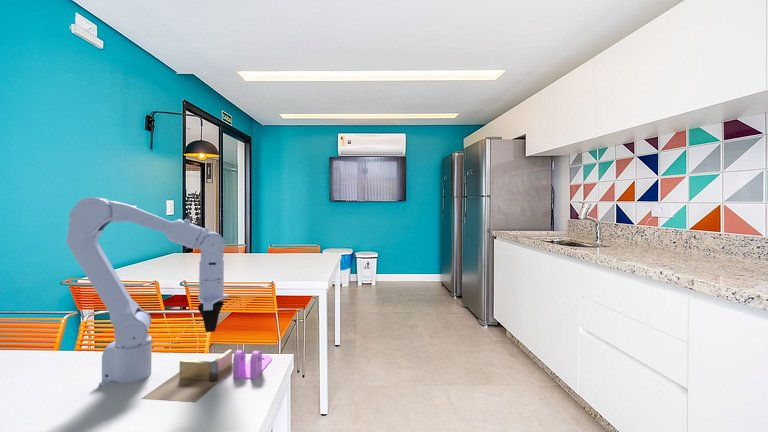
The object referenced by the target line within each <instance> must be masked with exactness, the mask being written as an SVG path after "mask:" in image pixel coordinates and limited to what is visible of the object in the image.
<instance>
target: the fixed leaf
mask: <svg viewBox="0 0 768 432" xmlns="http://www.w3.org/2000/svg"><path fill="white" fill-rule="evenodd" d="M232 363H233V350H232V349H228V350H227V351H225V352H224V353H223V354H222V355H220V356H218V357H217V358H216V359H215V360H212V361H210V380H209V381H210V382H215V381H217V380H218V378H219V377H220V376H221V375H222V374H223V373H224V372H226V371H227V370H228V369H229V368H230V367H231V366H232Z"/></svg>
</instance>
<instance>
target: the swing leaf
mask: <svg viewBox="0 0 768 432" xmlns="http://www.w3.org/2000/svg"><path fill="white" fill-rule="evenodd" d="M210 362H211V361H209V360H208V361H207V360H206V361H205V360H193V359H192V360H191V359H181V360H179V369H178V370H179V372H178V373H179V378H185V379H201V380H208V379H210Z"/></svg>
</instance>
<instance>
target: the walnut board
mask: <svg viewBox="0 0 768 432" xmlns="http://www.w3.org/2000/svg"><path fill="white" fill-rule="evenodd" d="M230 372H233V362H232V366H231V367H230V368H229V369H228V370H227V371H226V372H224V373H223V374H222V375H221V376H220V377H219V378H218V380H217V381H215V382H210V381H209V380H210V379H208V380H201V379H185V378H179V372H177V373H175V374H174V375H173V376H172V377H170V378H169V379H167V380H166V381H164V382H163V383H161V384H160V385H158V386H157V387H156V388H154V389H153V390H151V391H150V392H149V393H147V394H145V395H144V396H142V398H141V399H142V400H153V401H155V400H157V401H168V402H169V401H170V402H185V403H197V402H198V401H199V400H200V399H201V398H202V397H203V396H205V395H206V394H207V393H208V392H209V391H210V390H212V389H213V388H214V387H215V386H216V385H217V384H218V383H220V381H222V380H223V379H224V378H226V376H227V375H229V374H230Z"/></svg>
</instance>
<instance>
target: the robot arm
mask: <svg viewBox="0 0 768 432" xmlns="http://www.w3.org/2000/svg"><path fill="white" fill-rule="evenodd" d="M68 220H69V222H68V230H67V236H66V245H67V247H68V249H69V250H70V252H71V253H72V256H73V257H74V259H75V260H76V261H77V263H78V264H79V266H80V268H81V269H82V271H83V273H84V275H85V276H86V278H87V279H88V281H89V282H90V284H91V286H92V287H93V289H94V291H95V292H96V293H97V295H98V297H99V298H100V300H101V301H102V303H103V305H104V306H105V308H106V309H107V311H108V314H109V319H110V323H111V325H112V327H113V329H114V335H113V336H114V339H115V340H114V341H112V342H110V343H109V344H108V345H106V347H105V348H104V349H103V352H102V356H101V381H100V382H99V383H98V386H104V385H105V384H107V383H109V382H111V381H113V382H117V383H120V384H121V383H124V384H125V383H133V382H138V381H140V380H143V379H145V378H146V379H147V377H149V376H150V375H151V374H152V358H153V357H152V345H153V344H152V342H153V341H152V340H153V339H152V336H151V335H150V334H149V333H148V331H149V328H150V326H151V324H152V317H151V315H150V314H149V312H147V311H145V310H144V309H142V307H140V305H139V304H138V302H136V301H135V300H134V299H133V298H132V297H131V295H130V293H129V292H128V290H127V288H126V287H125V285H124V283H123V281H122V280H121V278H120V277H119V275H118V273H117V271H116V270H115V269H114V267H113V265H112V263H111V261H110V260H109V258H108V256H107V255H106V254H105V252H104V250H103V248H102V247H101V245H100V243H99V239H100V238H101V236H102V234H103V231H104V229H105V228H106V227H107V226H108V225H109V224H111V223H121V222H122V223H123V222H129V223H134V224H137V225H139V226H143V227H145V228H149V229H150V230H151V229H152V230H154V231H158V232H161V233H164V234H165V235H166V237H167V240H168V241H170V242H173V243H176V244H178V245H182V246H184V247H187V248H189V249H192V250H198V249H199V250H200V260H199V275H198V282H199V283H198V285H199V286H198V297H197V299H198V301H199V302H200V303H199V305H198V306H197V310H198V311H199V313H200V315H201V318H202V321H203V325H204V326H203V327H204V329H205V333H214V332H216V329H217V326H218V320H219V315H220V312H221V310H222V308H223V305H224V302H225V301H224V299H227V298H229V294H228V293H224V286H225V285H224V280H225V279H224V276H225V275H224V273H225V272H224V271H225V270H224V269H225V268H224V267H225V260H224V257H225V255H224V251H225V249H226V243H225V239H224V237H223V236H222V235H220V234H219V233H218V232H216V231H214V230H210V227H209V228H208V227H207V226H206V227H205V228H204V227H202V226H199V225H196V224H195V223H191V220H190V219H187V218H185V219H184V220H183V219H180V218H178V219H175V220H173V221H171V220H168V219H165V218H163V217H161V216H158V215H156V214H153V213H151V212H148V211H146V210H143V209H141V208H138V207H137V206H134V205H132V204H128V203H123V202H120V201H115V200H111V199H108V198H105V197H96V196H94V197H93V196H91V197H90V196H89V197H84V198H82V199H80V200H79V201H78V202H76V204H75V205H74V206H73V208H72V209H71V211H70V212H69V214H68Z"/></svg>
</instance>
